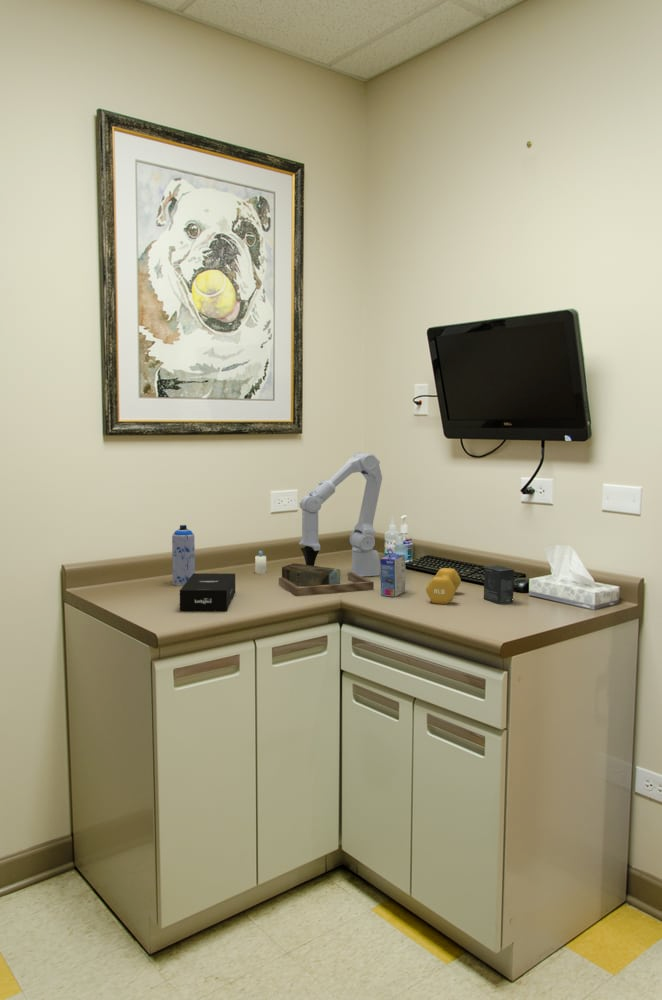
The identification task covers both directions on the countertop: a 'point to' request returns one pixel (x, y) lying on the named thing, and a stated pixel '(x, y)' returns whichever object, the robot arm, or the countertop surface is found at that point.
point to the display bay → (329, 586)
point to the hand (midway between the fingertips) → (310, 567)
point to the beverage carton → (310, 575)
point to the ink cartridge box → (392, 574)
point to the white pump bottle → (260, 563)
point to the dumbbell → (443, 586)
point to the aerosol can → (183, 555)
